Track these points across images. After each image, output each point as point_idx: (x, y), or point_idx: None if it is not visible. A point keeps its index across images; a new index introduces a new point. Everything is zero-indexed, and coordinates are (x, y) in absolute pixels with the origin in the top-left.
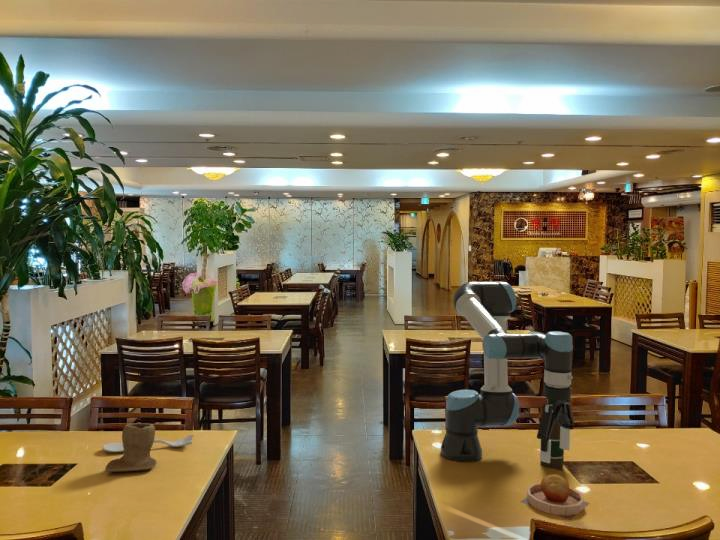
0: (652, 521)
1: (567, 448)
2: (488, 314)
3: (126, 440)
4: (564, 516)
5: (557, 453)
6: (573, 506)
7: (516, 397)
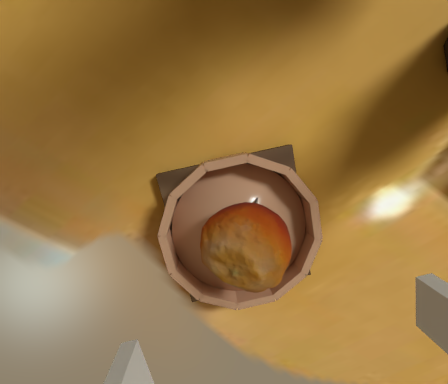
0: (348, 366)
1: (427, 330)
2: None
3: None
4: None
5: None
6: (220, 305)
7: None
